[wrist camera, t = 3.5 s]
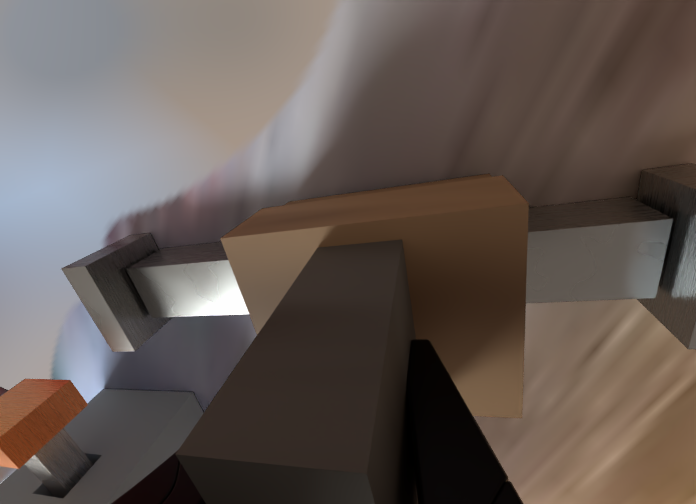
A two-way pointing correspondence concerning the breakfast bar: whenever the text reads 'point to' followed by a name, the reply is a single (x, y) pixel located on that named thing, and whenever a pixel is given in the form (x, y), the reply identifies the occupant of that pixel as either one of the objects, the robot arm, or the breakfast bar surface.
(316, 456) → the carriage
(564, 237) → the rail
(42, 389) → the plunger
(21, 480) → the block
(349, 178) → the breakfast bar surface
